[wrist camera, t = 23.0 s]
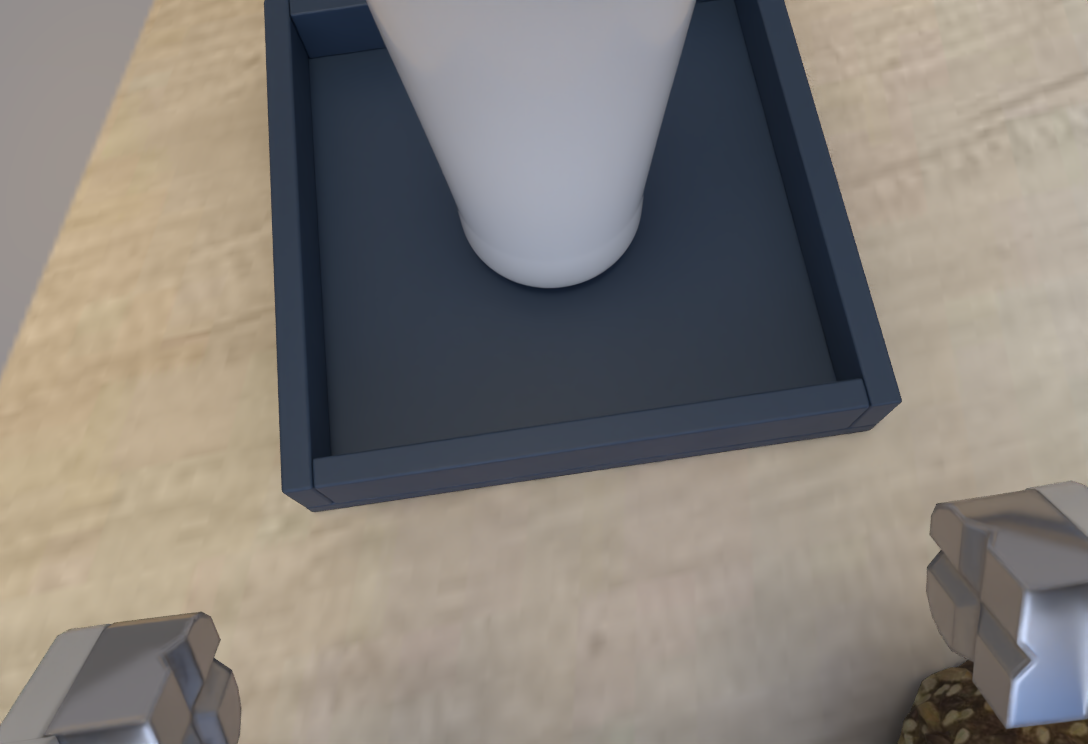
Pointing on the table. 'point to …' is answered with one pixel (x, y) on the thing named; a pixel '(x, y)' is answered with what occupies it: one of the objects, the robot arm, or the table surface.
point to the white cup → (540, 119)
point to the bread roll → (973, 716)
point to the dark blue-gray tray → (556, 313)
